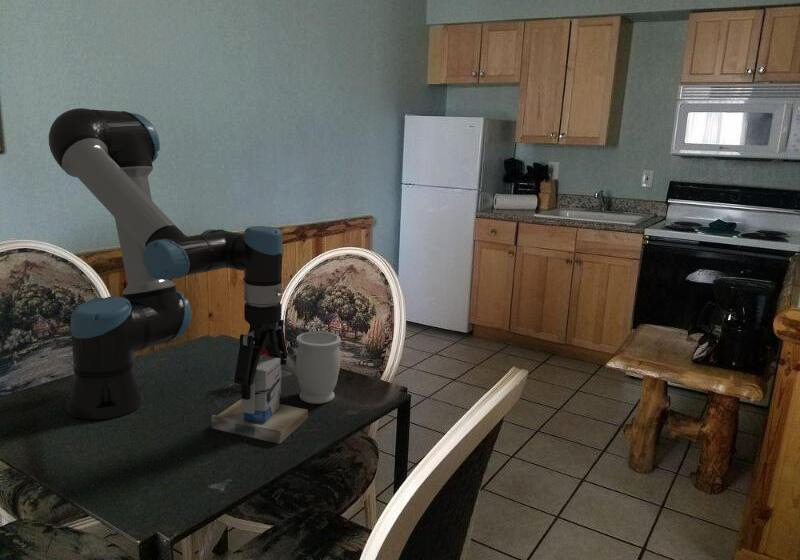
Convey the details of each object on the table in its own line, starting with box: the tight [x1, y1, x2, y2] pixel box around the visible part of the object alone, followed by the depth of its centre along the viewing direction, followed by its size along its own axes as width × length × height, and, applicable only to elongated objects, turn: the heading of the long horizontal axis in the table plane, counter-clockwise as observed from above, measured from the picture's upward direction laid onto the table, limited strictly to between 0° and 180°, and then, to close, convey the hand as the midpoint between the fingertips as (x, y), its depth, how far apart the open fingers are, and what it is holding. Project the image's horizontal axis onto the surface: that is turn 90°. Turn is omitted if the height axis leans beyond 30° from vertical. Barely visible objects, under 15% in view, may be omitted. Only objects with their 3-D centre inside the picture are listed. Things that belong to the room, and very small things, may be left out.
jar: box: [295, 331, 342, 405], centre depth 142 cm, size 11×10×15 cm
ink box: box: [244, 355, 281, 423], centre depth 128 cm, size 8×5×12 cm, turn 170°
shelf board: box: [211, 399, 309, 445], centre depth 129 cm, size 16×13×3 cm
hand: (262, 401), depth 129 cm, fingers open, 10 cm apart
